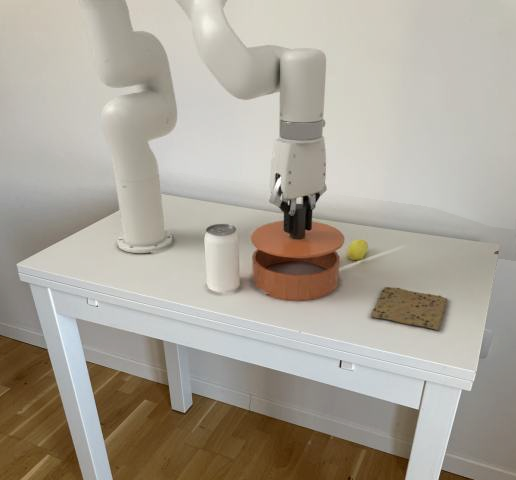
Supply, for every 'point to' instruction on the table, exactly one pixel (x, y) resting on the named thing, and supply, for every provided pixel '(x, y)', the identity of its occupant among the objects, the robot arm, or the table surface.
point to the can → (222, 257)
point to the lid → (298, 238)
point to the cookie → (410, 307)
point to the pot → (295, 277)
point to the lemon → (357, 249)
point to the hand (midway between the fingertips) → (297, 230)
